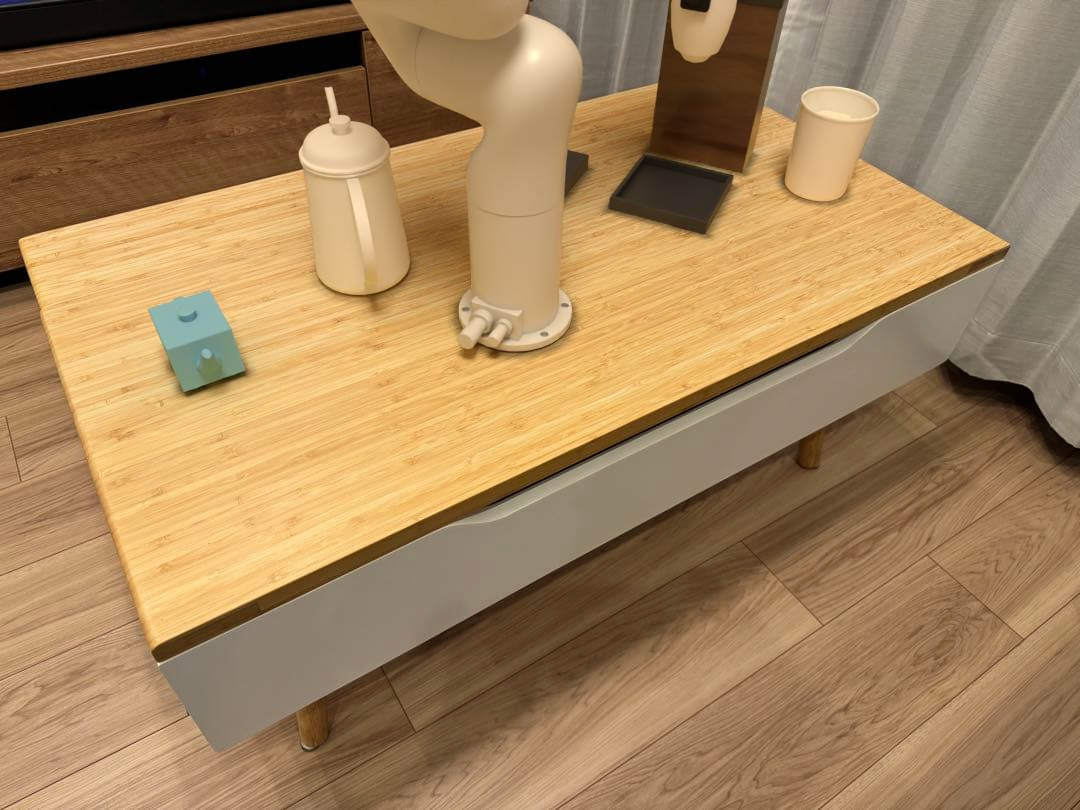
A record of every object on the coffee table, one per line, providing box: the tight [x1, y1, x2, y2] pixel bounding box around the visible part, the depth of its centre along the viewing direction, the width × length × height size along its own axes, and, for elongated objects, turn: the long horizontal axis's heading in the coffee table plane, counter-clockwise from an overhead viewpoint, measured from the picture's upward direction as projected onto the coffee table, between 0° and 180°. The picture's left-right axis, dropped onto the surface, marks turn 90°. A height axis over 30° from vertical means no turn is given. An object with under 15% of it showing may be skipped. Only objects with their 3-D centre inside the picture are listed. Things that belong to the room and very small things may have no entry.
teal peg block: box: [147, 289, 246, 393], centre depth 77 cm, size 12×6×8 cm, turn 33°
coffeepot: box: [298, 86, 411, 296], centre depth 86 cm, size 11×25×19 cm, turn 17°
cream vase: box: [671, 0, 737, 63], centre depth 91 cm, size 7×7×21 cm
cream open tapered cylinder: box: [784, 85, 880, 202], centre depth 104 cm, size 10×10×12 cm
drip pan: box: [608, 153, 735, 235], centre depth 105 cm, size 13×13×2 cm
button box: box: [564, 149, 590, 198], centre depth 106 cm, size 12×10×4 cm
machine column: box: [648, 0, 790, 174], centre depth 106 cm, size 6×14×24 cm, turn 65°
